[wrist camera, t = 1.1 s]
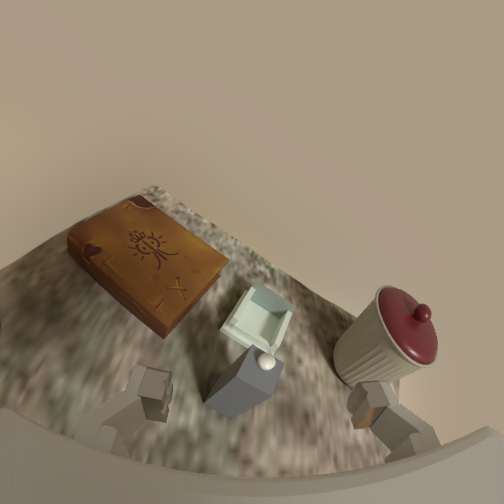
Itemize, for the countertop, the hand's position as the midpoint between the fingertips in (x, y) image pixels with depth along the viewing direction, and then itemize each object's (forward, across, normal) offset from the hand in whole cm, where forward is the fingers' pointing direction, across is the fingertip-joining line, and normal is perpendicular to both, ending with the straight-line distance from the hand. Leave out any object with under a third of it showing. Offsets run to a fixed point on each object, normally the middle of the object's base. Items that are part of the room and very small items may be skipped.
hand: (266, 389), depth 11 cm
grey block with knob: (+17, +1, +25) cm, 30 cm away
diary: (+35, +18, +15) cm, 42 cm away
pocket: (+32, -3, +22) cm, 39 cm away
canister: (+30, -25, +30) cm, 49 cm away
